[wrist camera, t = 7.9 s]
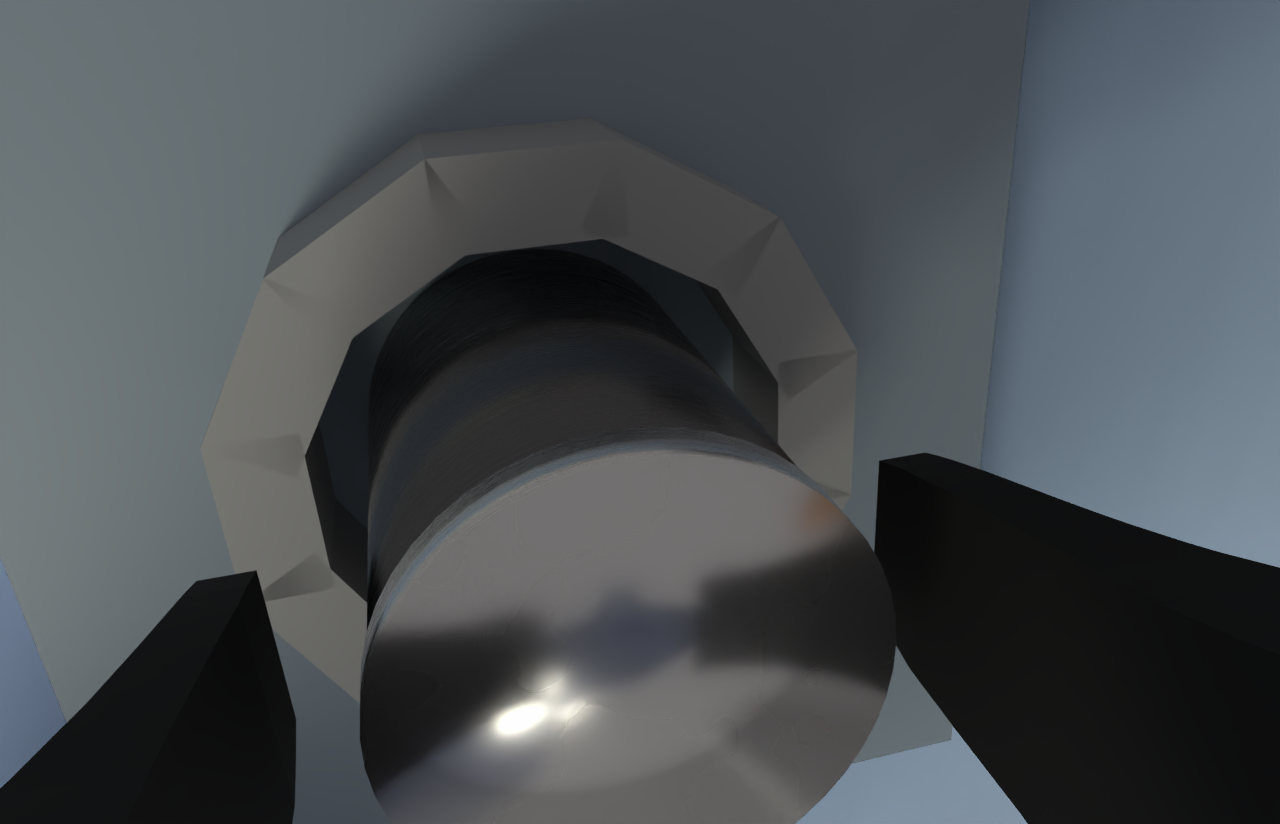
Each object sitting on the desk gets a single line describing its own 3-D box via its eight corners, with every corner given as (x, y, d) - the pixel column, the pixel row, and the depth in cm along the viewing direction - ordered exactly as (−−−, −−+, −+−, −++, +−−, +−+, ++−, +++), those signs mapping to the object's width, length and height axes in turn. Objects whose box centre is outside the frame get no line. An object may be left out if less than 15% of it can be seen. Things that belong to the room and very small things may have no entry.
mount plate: (916, 693, 22) (1004, 811, 19) (165, 863, 19) (124, 1039, 16) (996, -256, 14) (1167, -318, 11) (-244, -233, 11) (-478, -311, 8)
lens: (698, 513, 17) (887, 828, 11) (399, 573, 16) (416, 959, 10) (680, 223, 15) (906, 408, 8) (332, 272, 14) (298, 522, 7)
